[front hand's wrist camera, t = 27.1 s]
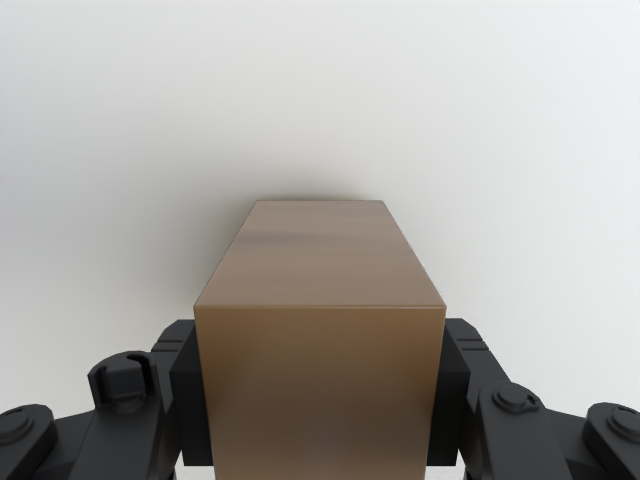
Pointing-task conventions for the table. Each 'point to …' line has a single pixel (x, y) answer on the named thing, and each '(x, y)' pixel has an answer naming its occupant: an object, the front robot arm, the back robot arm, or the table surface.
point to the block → (319, 346)
